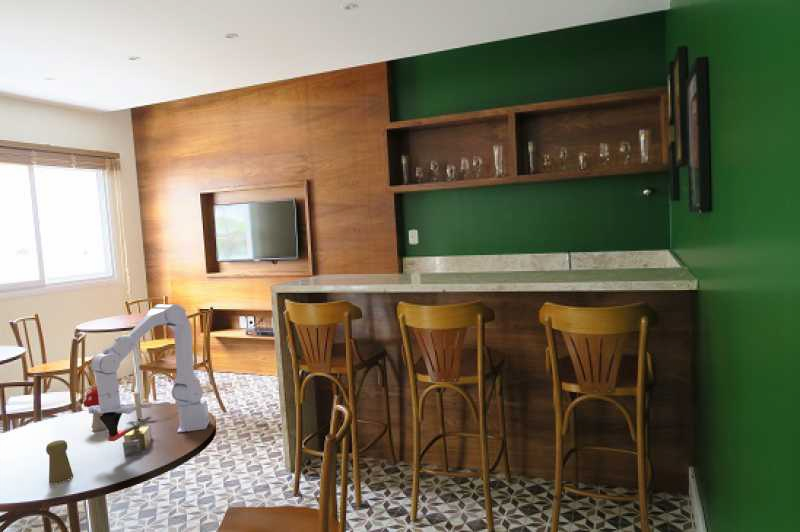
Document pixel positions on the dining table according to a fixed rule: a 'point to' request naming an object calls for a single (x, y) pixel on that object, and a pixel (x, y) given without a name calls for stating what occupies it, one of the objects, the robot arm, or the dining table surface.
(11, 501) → the dining table surface
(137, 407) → the pipe connector
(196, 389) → the robot arm
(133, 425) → the valve lever
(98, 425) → the decorative mushroom
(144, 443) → the valve body
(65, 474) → the cork
